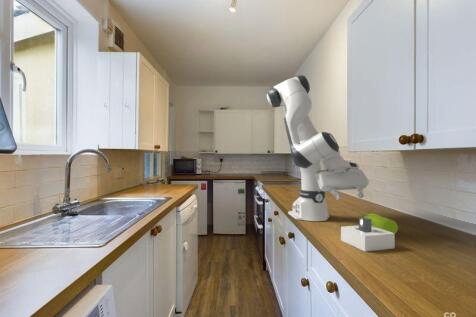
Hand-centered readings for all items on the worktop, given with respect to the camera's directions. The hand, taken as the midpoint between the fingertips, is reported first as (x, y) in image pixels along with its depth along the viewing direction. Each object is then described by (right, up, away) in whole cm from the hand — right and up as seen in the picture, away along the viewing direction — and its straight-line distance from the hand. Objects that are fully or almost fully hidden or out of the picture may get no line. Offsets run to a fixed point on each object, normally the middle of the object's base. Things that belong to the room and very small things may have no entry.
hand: (350, 198), depth 102 cm
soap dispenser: (+17, -12, +3) cm, 22 cm away
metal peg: (+1, -15, -8) cm, 17 cm away
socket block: (+2, -15, -8) cm, 17 cm away
